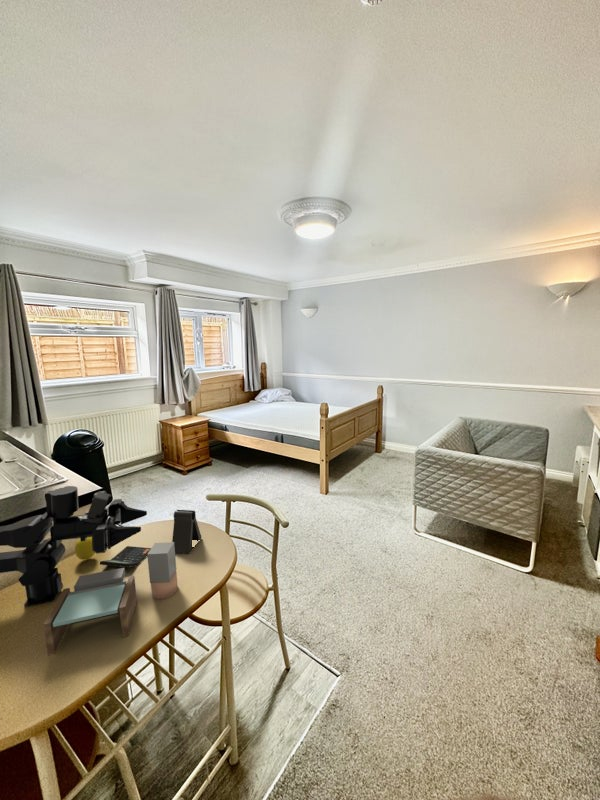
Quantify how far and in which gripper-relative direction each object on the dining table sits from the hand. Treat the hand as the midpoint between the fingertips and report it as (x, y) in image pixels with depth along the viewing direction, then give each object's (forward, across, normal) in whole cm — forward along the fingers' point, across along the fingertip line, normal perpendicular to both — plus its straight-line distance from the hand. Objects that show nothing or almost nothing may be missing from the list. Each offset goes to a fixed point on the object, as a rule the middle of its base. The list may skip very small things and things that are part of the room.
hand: (144, 520), depth 92 cm
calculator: (-6, +10, +18) cm, 21 cm away
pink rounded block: (+6, -7, +16) cm, 19 cm away
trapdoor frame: (-8, -16, +17) cm, 25 cm away
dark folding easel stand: (+10, +13, +16) cm, 23 cm away
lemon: (-18, +14, +18) cm, 29 cm away
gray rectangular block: (+6, -7, +12) cm, 15 cm away
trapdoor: (-8, -14, +11) cm, 20 cm away
